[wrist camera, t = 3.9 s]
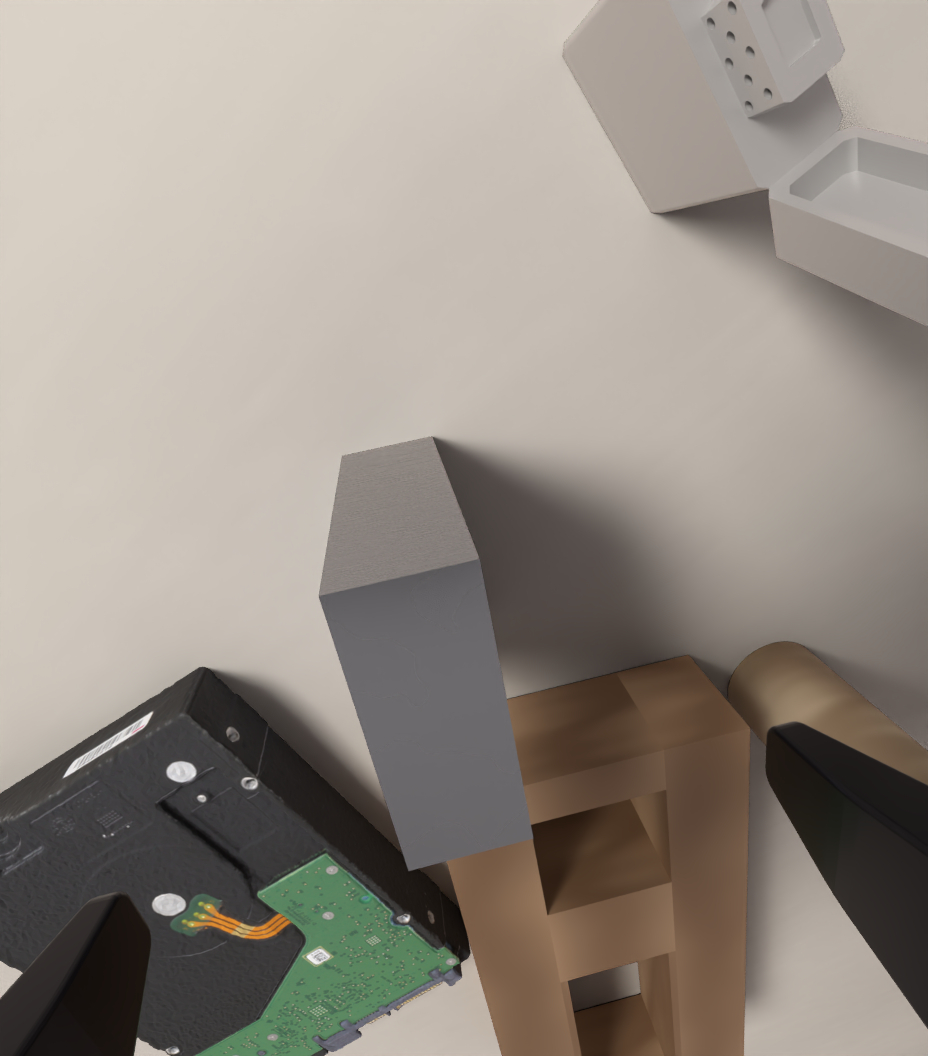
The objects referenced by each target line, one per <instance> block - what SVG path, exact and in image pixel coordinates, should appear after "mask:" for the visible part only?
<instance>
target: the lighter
mask: <svg viewBox="0 0 928 1056" xmlns="http://www.w3.org/2000/svg"><path fill="white" fill-rule="evenodd" d="M844 51H845V49H844V46H843V44H842V41H841V38H840V36H839V33H838V30H837V28H836V25H835V22H834V20H833V17H832V14H831V12H830V9H829V7H828V4H827V1H826V0H599V1H598V2H597V3H596V5H595V6H594V7H593V8H592V9H591V11H590V12H589V13H588V14H587V15H586V17H585V18H584V19H583V20H582V22H581V23H580V24H579V25H578V26H577V28H576V29H575V30H574V31H573V33H572V34H571V35H570V36H569V37H568V39H567V40H566V41H565V42H564V50H563V58H564V60H565V61H566V63H567V65H568V67H569V68H570V70H571V72H572V74H573V75H574V77H575V79H576V81H577V83H578V84H579V86H580V88H581V90H582V91H583V93H584V95H585V97H586V98H587V100H588V102H589V104H590V105H591V107H592V109H593V111H594V113H595V114H596V116H597V118H598V120H599V121H600V123H601V125H602V127H603V128H604V130H605V132H606V134H607V136H608V137H609V139H610V141H611V143H612V144H613V146H614V148H615V150H616V151H617V153H618V155H619V157H620V159H621V160H622V162H623V164H624V166H625V167H626V169H627V171H628V173H629V174H630V176H631V178H632V180H633V182H634V183H635V185H636V187H637V189H638V190H639V192H640V194H641V196H642V197H643V199H644V201H645V203H646V205H647V206H648V208H649V210H650V212H653V213H660V214H661V213H665V212H670V211H674V210H678V209H683V208H687V207H692V206H696V205H700V204H705V203H709V202H714V201H718V200H723V199H727V198H731V197H736V196H740V195H745V194H749V193H754V192H758V191H762V190H767V189H769V197H768V198H769V206H770V213H771V220H772V228H773V235H774V243H775V250H776V257H777V258H779V259H781V260H783V261H785V262H788V263H790V264H792V265H794V266H796V267H798V268H801V269H803V270H805V271H807V272H809V273H812V274H814V275H816V276H818V277H820V278H822V279H825V280H827V281H829V282H831V283H833V284H835V285H838V286H840V287H842V288H844V289H846V290H848V291H851V292H853V293H855V294H857V295H859V296H861V297H864V298H866V299H868V300H870V301H872V302H875V303H877V304H879V305H881V306H883V307H885V308H888V309H890V310H892V311H894V312H896V313H898V314H901V315H903V316H905V317H907V318H909V319H911V320H914V321H916V322H918V323H920V324H922V325H924V326H927V327H928V143H926V142H922V141H918V140H914V139H910V138H905V137H901V136H897V135H893V134H889V133H884V132H880V131H876V130H872V129H868V128H863V127H859V126H851V127H848V128H845V129H842V130H839V126H840V123H841V119H842V116H843V114H842V112H841V109H840V107H839V104H838V102H837V99H836V97H835V94H834V92H833V89H832V87H831V84H830V82H829V79H828V76H827V74H826V72H827V71H829V70H830V69H831V68H832V67H833V66H835V65H836V64H837V63H838V62H839V61H840V60H841V58H842V56H843V53H844Z"/></svg>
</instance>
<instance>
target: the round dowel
mask: <svg viewBox="0 0 928 1056" xmlns="http://www.w3.org/2000/svg"><path fill="white" fill-rule="evenodd" d="M728 697H729V700H730V703H731V705H732V706H733V708H734V709H735V710H736V711H737V713H738V714H739V715H740V716H741V717H742V718H743V720H744V721H745V722H746V723H747V724H748V726H749V727H750V728H751V729H752V730H753V731H754V733H755V734H756V735H757V736H758V737H759V739H760V740H761V741H762V742H763V743H764V744H765V746H766V737H767V731H768V730H769V728H770V727H772V726H776V725H780V724H784V723H788V722H792V721H797V722H801V723H804V724H806V725H808V726H810V727H812V728H814V729H816V730H818V731H820V732H822V733H824V734H826V735H828V736H830V737H832V738H834V739H836V740H838V741H840V742H842V743H844V744H846V745H848V746H850V747H852V748H854V749H856V750H858V751H860V752H862V753H864V754H866V755H868V756H870V757H872V758H874V759H876V760H878V761H880V762H883V763H885V764H887V765H889V766H891V767H893V768H895V769H897V770H899V771H901V772H903V773H905V774H907V775H909V776H911V777H913V778H915V779H917V780H919V781H921V782H923V783H925V784H927V785H928V751H927V750H926V749H925V748H923V747H922V746H921V745H920V744H919V743H917V742H916V741H915V740H914V739H913V738H912V737H910V736H909V735H908V734H907V733H906V732H904V731H903V730H902V729H901V728H900V727H899V726H897V725H896V724H895V723H894V722H893V721H892V720H890V719H889V718H888V717H887V716H886V715H884V714H883V713H882V712H881V711H880V710H879V709H877V708H876V707H875V706H874V705H873V704H871V703H870V702H869V701H868V700H867V699H866V698H864V697H863V696H862V695H861V694H860V693H858V692H857V691H856V690H855V689H854V688H853V687H851V686H850V685H849V684H848V683H847V682H845V681H844V680H843V679H842V678H841V677H840V676H838V675H837V674H836V673H835V672H834V671H833V670H831V669H830V668H829V667H828V666H827V665H825V664H824V663H823V662H822V661H821V660H820V659H818V658H817V657H816V656H815V655H814V654H812V653H811V652H810V651H809V650H808V649H806V648H805V647H804V646H802V645H800V644H797V643H794V642H777V643H772V644H769V645H766V646H764V647H761V648H759V649H758V650H756V651H754V652H753V653H751V654H750V655H749V656H747V657H746V658H745V659H744V660H743V661H742V662H741V663H740V664H739V666H738V667H737V668H736V670H735V671H734V673H733V675H732V677H731V680H730V683H729V687H728Z"/></svg>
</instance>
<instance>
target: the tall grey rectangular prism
mask: <svg viewBox="0 0 928 1056" xmlns="http://www.w3.org/2000/svg"><path fill="white" fill-rule="evenodd" d="M319 599H320V602H321V605H322V608H323V611H324V614H325V617H326V620H327V623H328V626H329V629H330V632H331V635H332V638H333V641H334V645H335V648H336V651H337V654H338V657H339V660H340V663H341V666H342V669H343V672H344V675H345V678H346V681H347V684H348V687H349V690H350V694H351V697H352V700H353V703H354V706H355V709H356V712H357V715H358V718H359V721H360V724H361V727H362V730H363V733H364V736H365V739H366V742H367V746H368V749H369V752H370V755H371V758H372V761H373V764H374V767H375V770H376V773H377V776H378V779H379V782H380V785H381V788H382V791H383V794H384V798H385V801H386V804H387V807H388V810H389V813H390V816H391V819H392V822H393V825H394V828H395V831H396V834H397V837H398V840H399V843H400V847H401V850H402V853H403V856H404V859H405V862H406V865H407V868H408V871H411V870H415V869H419V868H423V867H426V866H430V865H434V864H438V863H442V862H446V861H449V860H453V859H457V858H461V857H465V856H469V855H472V854H476V853H480V852H484V851H488V850H492V849H495V848H499V847H503V846H507V845H511V844H515V843H518V842H522V841H526V840H530V839H534V838H533V833H532V828H531V823H530V818H529V813H528V807H527V802H526V797H525V792H524V787H523V781H522V776H521V771H520V766H519V761H518V755H517V750H516V745H515V740H514V735H513V729H512V724H511V719H510V714H509V709H508V703H507V698H506V693H505V688H504V683H503V677H502V672H501V667H500V662H499V657H498V651H497V646H496V641H495V636H494V631H493V625H492V620H491V615H490V610H489V605H488V599H487V594H486V589H485V584H484V579H483V573H482V568H481V563H480V558H479V556H478V553H477V551H476V548H475V546H474V543H473V540H472V538H471V535H470V533H469V530H468V527H467V525H466V522H465V520H464V517H463V515H462V512H461V509H460V507H459V504H458V502H457V499H456V497H455V494H454V491H453V489H452V486H451V484H450V481H449V479H448V476H447V473H446V471H445V468H444V466H443V463H442V461H441V458H440V455H439V453H438V450H437V448H436V445H435V442H434V440H433V437H432V436H431V437H427V438H422V439H418V440H413V441H408V442H404V443H399V444H394V445H390V446H385V447H381V448H376V449H371V450H367V451H362V452H358V453H353V454H348V455H344V456H342V459H341V465H340V471H339V477H338V483H337V489H336V495H335V501H334V507H333V513H332V519H331V525H330V531H329V537H328V543H327V549H326V555H325V561H324V567H323V573H322V579H321V585H320V591H319Z"/></svg>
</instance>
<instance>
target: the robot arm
mask: <svg viewBox="0 0 928 1056" xmlns="http://www.w3.org/2000/svg"><path fill="white" fill-rule="evenodd" d="M765 768H766V775H767V779H768V781H769V784H770V786H771V788H772V790H773V791H774V793H775V795H776V797H777V798H778V800H779V802H780V803H781V805H782V807H783V809H784V810H785V812H786V814H787V816H788V817H789V819H790V821H791V823H792V824H793V826H794V828H795V829H796V831H797V833H798V835H799V836H800V838H801V840H802V842H803V843H804V845H805V847H806V849H807V850H808V852H809V854H810V855H811V857H812V859H813V861H814V862H815V864H816V866H817V868H818V869H819V871H820V873H821V875H822V876H823V878H824V880H825V881H826V883H827V885H828V886H829V888H830V889H831V891H832V893H833V894H834V896H835V897H836V899H837V900H838V902H839V903H840V905H841V906H842V908H843V909H844V911H845V912H846V914H847V915H848V917H849V918H850V919H851V921H852V922H853V924H854V925H855V926H856V928H857V929H858V931H859V932H860V934H861V935H862V936H863V938H864V939H865V941H866V942H867V943H868V945H869V946H870V948H871V949H872V951H873V952H874V953H875V955H876V956H877V958H878V959H879V960H880V962H881V963H882V965H883V966H884V968H885V969H886V970H887V972H888V973H889V975H890V976H891V978H892V979H893V980H894V982H895V983H896V985H897V986H898V987H899V989H900V990H901V992H902V993H903V995H904V996H905V997H906V999H907V1000H908V1002H909V1003H910V1004H911V1006H912V1007H913V1009H914V1010H915V1012H916V1013H917V1014H918V1016H919V1017H920V1019H921V1020H922V1021H923V1023H924V1024H925V1026H926V1027H927V1029H928V785H927V784H925V783H923V782H921V781H919V780H917V779H915V778H913V777H911V776H909V775H907V774H905V773H903V772H901V771H899V770H897V769H895V768H893V767H891V766H889V765H887V764H885V763H883V762H880V761H878V760H876V759H874V758H872V757H870V756H868V755H866V754H864V753H862V752H860V751H858V750H856V749H854V748H852V747H850V746H848V745H846V744H844V743H842V742H840V741H838V740H836V739H834V738H832V737H830V736H828V735H826V734H824V733H822V732H820V731H818V730H816V729H814V728H812V727H810V726H808V725H806V724H804V723H801V722H797V721H792V722H788V723H784V724H780V725H776V726H772V727H770V728H769V730H768V731H767V737H766V765H765ZM150 952H151V933H150V929H149V927H148V925H147V923H146V921H145V920H144V918H143V917H142V915H141V913H140V912H139V910H138V909H137V907H136V905H135V904H134V902H133V901H132V899H131V898H130V896H129V895H128V894H127V893H125V892H123V891H118V892H114V893H110V894H106V895H102V896H98V897H95V898H93V899H91V900H89V901H88V902H87V903H86V904H85V905H84V906H83V907H82V908H81V909H80V910H79V911H78V912H77V913H76V915H75V916H74V917H73V918H72V919H71V920H70V921H69V922H68V923H67V925H66V926H65V927H64V928H63V929H62V930H61V931H60V932H59V934H58V935H57V936H56V937H55V938H54V939H53V940H52V941H51V942H50V944H49V945H48V946H47V947H46V948H45V949H44V950H43V951H42V952H41V954H40V955H39V956H38V957H37V958H36V959H35V960H34V961H33V962H32V964H31V965H30V966H29V967H28V968H27V969H26V970H25V971H24V973H23V974H22V975H21V976H20V977H19V978H18V979H17V980H16V981H15V983H14V984H13V985H12V986H11V987H10V988H9V989H8V990H7V991H6V993H5V994H4V995H3V996H2V997H1V998H0V1056H134V1052H135V1045H136V1039H137V1033H138V1027H139V1020H140V1014H141V1008H142V1002H143V995H144V989H145V983H146V977H147V970H148V964H149V958H150Z"/></svg>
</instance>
